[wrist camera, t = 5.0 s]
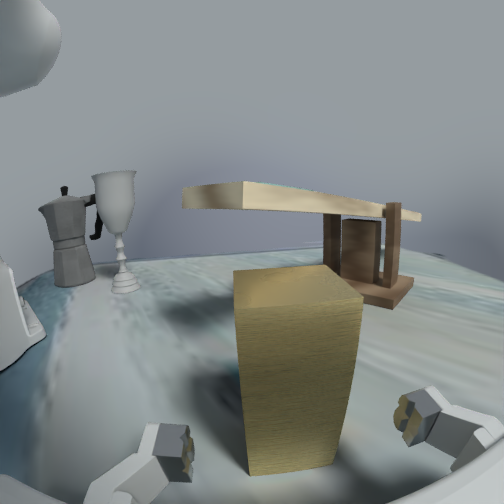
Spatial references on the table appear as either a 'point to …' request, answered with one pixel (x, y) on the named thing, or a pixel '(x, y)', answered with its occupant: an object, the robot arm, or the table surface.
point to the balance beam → (280, 200)
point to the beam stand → (367, 256)
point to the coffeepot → (70, 238)
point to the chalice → (117, 218)
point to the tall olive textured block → (294, 363)
